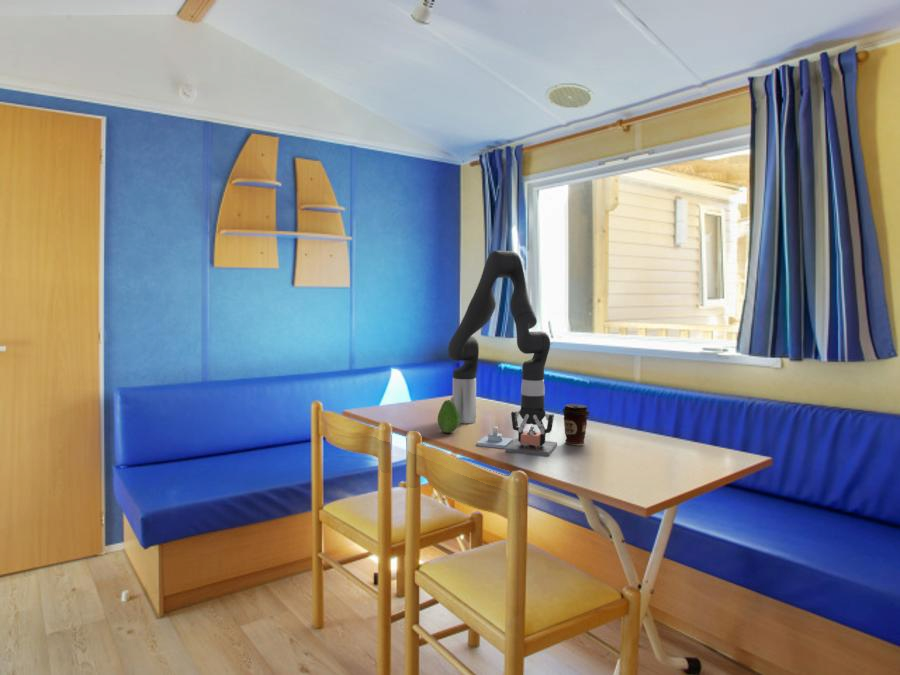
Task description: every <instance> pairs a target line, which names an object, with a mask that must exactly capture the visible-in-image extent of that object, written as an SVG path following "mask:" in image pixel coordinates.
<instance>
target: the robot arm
mask: <svg viewBox="0 0 900 675" xmlns="http://www.w3.org/2000/svg"><path fill="white" fill-rule="evenodd" d="M498 278H503V279H504V278H507V279H510V280H511V282H512V285H513V289H512V295H511V299H510V304H509V306H510V312H511V315H512V319H513V321H514V323H515V330H516V346H517V348H518V349H519V350H520V352H521V353H522V354H531V355H532V354H533V356H532V358H531V359H529V360H526V361H523V363H522V367H521V368H522V369H521V370H522V372H521V377H522V379H521V386H520V387H521V389H520V409H519V411H518V410H513V411H511V413H510V417H511V423H512V424H511V425H512V430H514V431H516V432H518V433H517V434H518V435H517V438H518V441H519V442H520V444H521V434H522V433H523V432H524V431H525V430H524V429H525V427H526V425H534V426H537V428H538V430H539V432H541V434H540V446H543V444H544V443H545V441H546V437H547V436H546V434H550V433H551V432H552V428H553V424H554V418H555V415H554V413H547V412H546V411H545V393H546V388H545V386H546V385H545V365H546V363H547V358H548V355H549V352H550V349H551V341H550V340H551V339H550V336H549V334H547V332H545V331H542V330H541V331H538V330H537V331H530V330H532V329H533V328H534V327H535V326H536V325H537V322H538V320H537V316H536V314H535V311H534V308H533V306H532V303H531V301H530V300H531V299H530V298H529V292H528V288H527V287H528V286H527V283H526V277H525V271H524V267H523V262H522V259H521V256H520V255H519V254H518V252H516V251H511V250H492V252H490V254H489V255H488V257H487V259H486V262H485V264H484V267H483V270H482V274H481V276H480V279H479V282H478V285H477V286H476V288H475V291H474V294H473V296H472V298H471V300H470V302H469V304H468V306H467V309H466V311H465V314H464V316H463V317H462V320H461V322H460V324H459V325H458V327H457V329H456V331H455V332H454V334H453V335H452V337H451V339H450V341H449V344H448V348H447V349H448V350H447V354H448V356H449V358H450V359H451V360H453V361H457V362H459V361H460V362H461V361H463V364H462V365H461V366H459V367H458V368H455V369H453V371H452V396H450V400H451V401H452V402H453V403H454V404H455V406H456V408H457V410H458V413H459V416H460V422H459V424H473V423H476V421H477V420H476V419H477V374H478V371H479V370H478V369H479V368H478V367H479V357H480V356H479V355H480V352H479V351H480V347H479V342H478V340H477V339H476V337H475V336H473V335H474V334H475V333H477V332H478V331H479V330H481V329H482V328H483V327H484V326H486V325H487V323H488V322H489V321H490V320H491V318H492V316H493V313H494V312H495V310H496V305H497V304H496V297H495V294H494V290H493V288H494V285H495V283H496V281H497V280H498ZM519 415H520V417H521V419H522V421H521V424H520V426H519V421H518V418H519ZM544 418H545V419H546V420H547V426H546V428H545V424H544V422H543V419H544Z"/></svg>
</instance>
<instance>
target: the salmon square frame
mask: <svg viewBox="0 0 900 675" xmlns="http://www.w3.org/2000/svg"><path fill="white" fill-rule="evenodd" d="M523 431H524V432H523V433H522V434H521V444H525V445H536V446H539V445H540V434H541V432H540V431H535V435H529V430H523Z"/></svg>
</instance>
